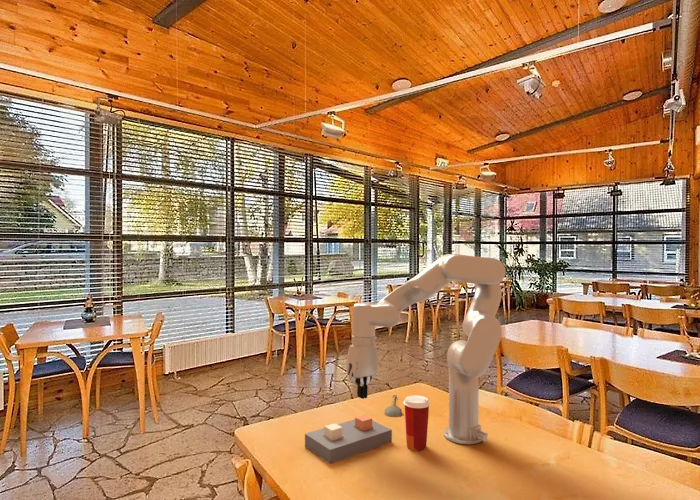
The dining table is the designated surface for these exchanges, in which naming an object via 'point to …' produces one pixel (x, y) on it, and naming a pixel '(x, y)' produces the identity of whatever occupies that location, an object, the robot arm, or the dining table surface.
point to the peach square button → (363, 423)
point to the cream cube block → (333, 432)
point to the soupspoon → (393, 410)
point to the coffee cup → (416, 422)
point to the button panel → (347, 441)
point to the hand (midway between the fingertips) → (362, 397)
